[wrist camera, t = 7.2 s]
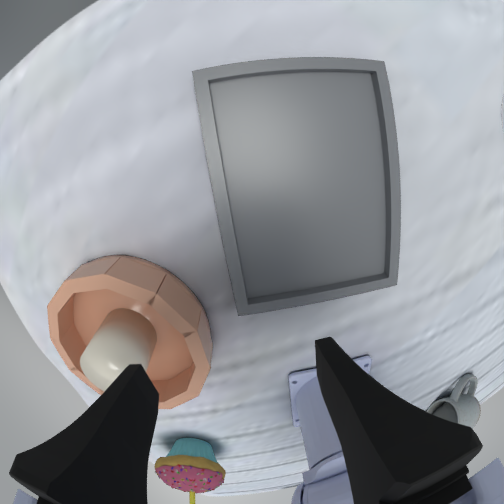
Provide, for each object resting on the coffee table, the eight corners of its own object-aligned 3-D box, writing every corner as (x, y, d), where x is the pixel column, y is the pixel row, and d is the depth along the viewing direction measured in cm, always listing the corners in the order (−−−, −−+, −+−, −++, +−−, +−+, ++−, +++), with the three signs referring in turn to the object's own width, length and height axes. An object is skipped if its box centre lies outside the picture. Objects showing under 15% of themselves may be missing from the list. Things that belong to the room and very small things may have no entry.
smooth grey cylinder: (163, 353, 20) (150, 398, 16) (116, 352, 20) (97, 394, 16) (147, 306, 19) (125, 350, 14) (97, 309, 19) (69, 348, 14)
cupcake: (233, 455, 29) (235, 529, 18) (177, 458, 29) (170, 526, 18) (211, 427, 26) (207, 519, 15) (148, 430, 26) (131, 510, 15)
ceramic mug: (445, 413, 31) (463, 443, 24) (415, 421, 30) (433, 456, 23) (480, 368, 28) (504, 397, 20) (453, 373, 27) (480, 409, 19)
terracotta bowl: (226, 376, 23) (225, 406, 19) (105, 380, 23) (94, 404, 20) (186, 240, 18) (176, 261, 15) (47, 268, 18) (24, 287, 15)
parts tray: (388, 276, 20) (396, 284, 18) (238, 305, 20) (238, 316, 19) (374, 65, 14) (384, 61, 13) (195, 76, 14) (192, 71, 13)
